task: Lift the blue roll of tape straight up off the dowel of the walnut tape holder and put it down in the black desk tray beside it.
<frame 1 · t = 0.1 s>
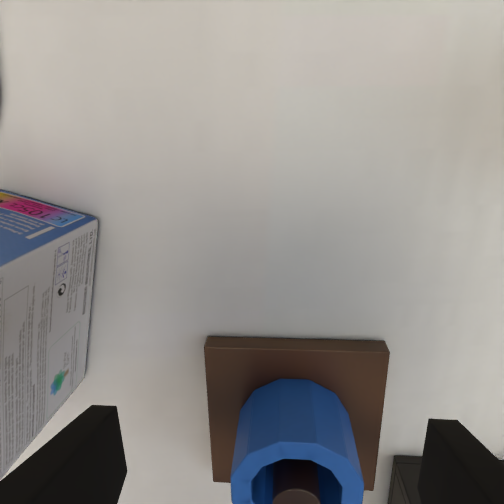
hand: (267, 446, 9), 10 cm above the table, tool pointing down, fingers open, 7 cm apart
tape holder: (293, 409, 21), on the table
ink cartridge box: (44, 287, 20), on the table
tape roll: (293, 423, 20), point 1 cm above the table, touching tape holder
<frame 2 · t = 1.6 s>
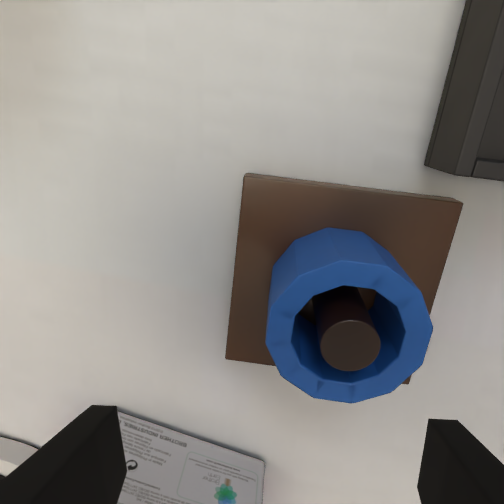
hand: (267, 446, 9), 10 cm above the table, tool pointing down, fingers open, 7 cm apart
tape holder: (330, 280, 18), on the table
ink cartridge box: (174, 461, 23), on the table
tape roll: (332, 288, 17), point 1 cm above the table, touching tape holder
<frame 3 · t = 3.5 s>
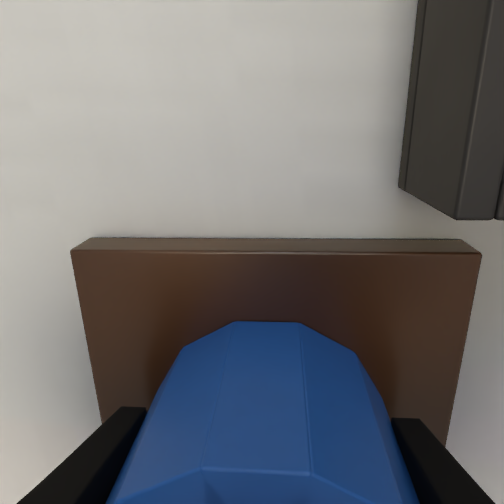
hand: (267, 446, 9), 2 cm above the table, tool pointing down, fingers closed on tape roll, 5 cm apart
tape holder: (269, 391, 11), on the table
tape roll: (267, 417, 10), point 1 cm above the table, touching gripper, tape holder
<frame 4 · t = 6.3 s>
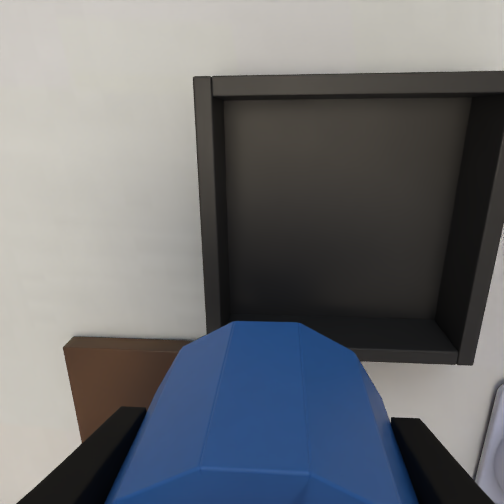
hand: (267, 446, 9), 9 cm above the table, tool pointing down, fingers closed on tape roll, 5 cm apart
desk tray: (335, 215, 16), on the table
tape holder: (169, 413, 20), on the table
tape roll: (267, 417, 10), point 8 cm above the table, touching gripper
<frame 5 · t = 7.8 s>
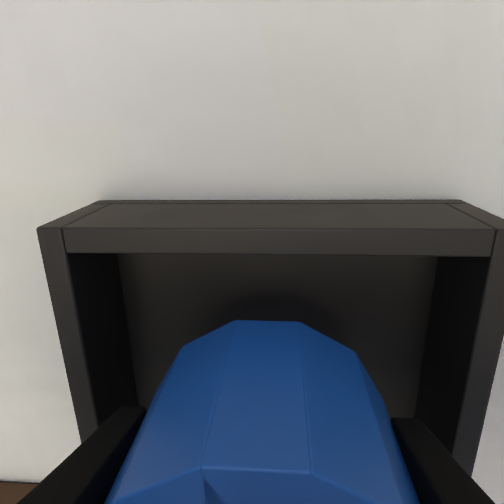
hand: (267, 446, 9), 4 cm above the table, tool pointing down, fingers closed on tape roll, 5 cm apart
desk tray: (272, 355, 12), on the table
tape roll: (267, 416, 10), point 3 cm above the table, touching gripper
when the fingers open (2 cm above the table, at t = 9.3 s): tape roll stays where it is, resting on desk tray.
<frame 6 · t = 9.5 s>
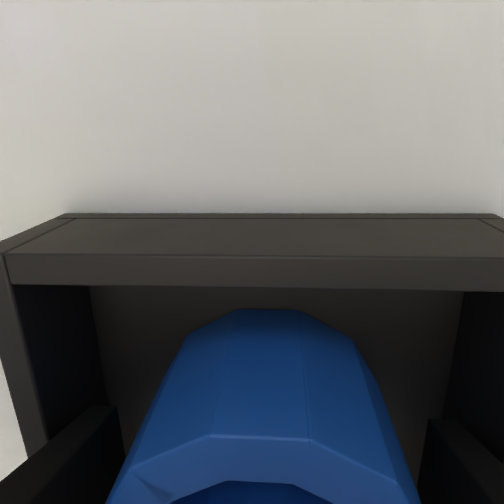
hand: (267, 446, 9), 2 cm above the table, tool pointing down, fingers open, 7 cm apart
desk tray: (270, 390, 11), on the table
tape roll: (268, 401, 10), resting on desk tray
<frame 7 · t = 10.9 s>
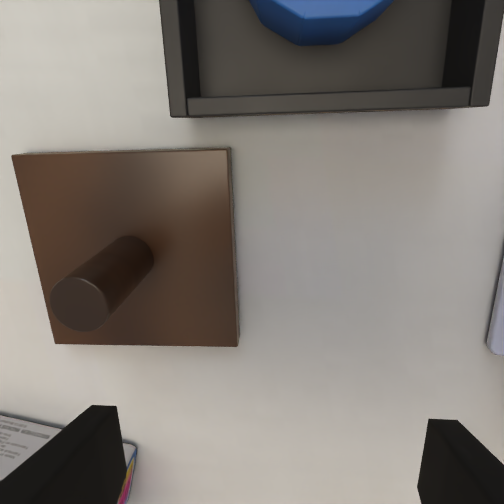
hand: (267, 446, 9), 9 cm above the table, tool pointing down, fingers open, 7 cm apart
tape holder: (139, 250, 18), on the table
ink cartridge box: (54, 455, 23), on the table
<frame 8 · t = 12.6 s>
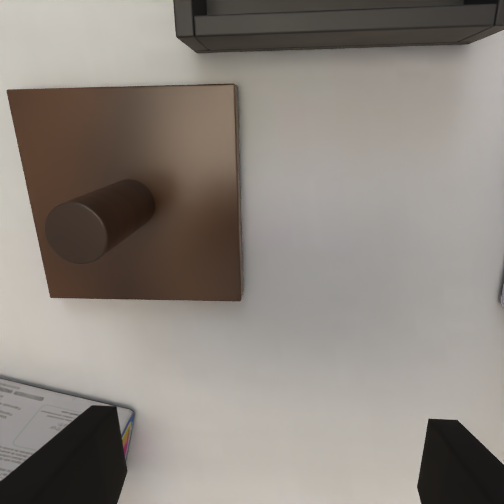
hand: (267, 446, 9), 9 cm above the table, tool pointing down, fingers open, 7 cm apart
tape holder: (140, 198, 17), on the table
ink cartridge box: (48, 421, 22), on the table
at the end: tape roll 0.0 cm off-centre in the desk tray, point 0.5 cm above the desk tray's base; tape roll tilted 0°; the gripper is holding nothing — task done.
